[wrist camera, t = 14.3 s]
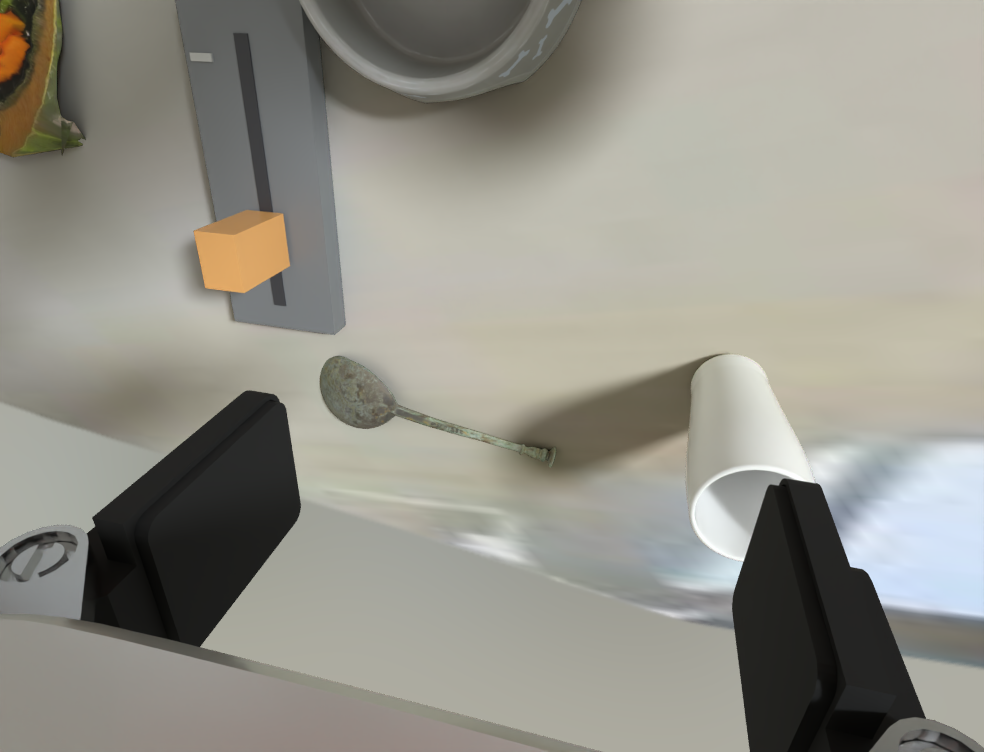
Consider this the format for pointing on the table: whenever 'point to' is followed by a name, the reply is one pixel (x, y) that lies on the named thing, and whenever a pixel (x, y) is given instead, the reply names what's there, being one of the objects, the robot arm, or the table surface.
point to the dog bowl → (442, 41)
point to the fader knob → (242, 250)
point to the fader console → (269, 147)
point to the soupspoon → (390, 405)
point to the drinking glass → (736, 451)
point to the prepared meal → (31, 79)
